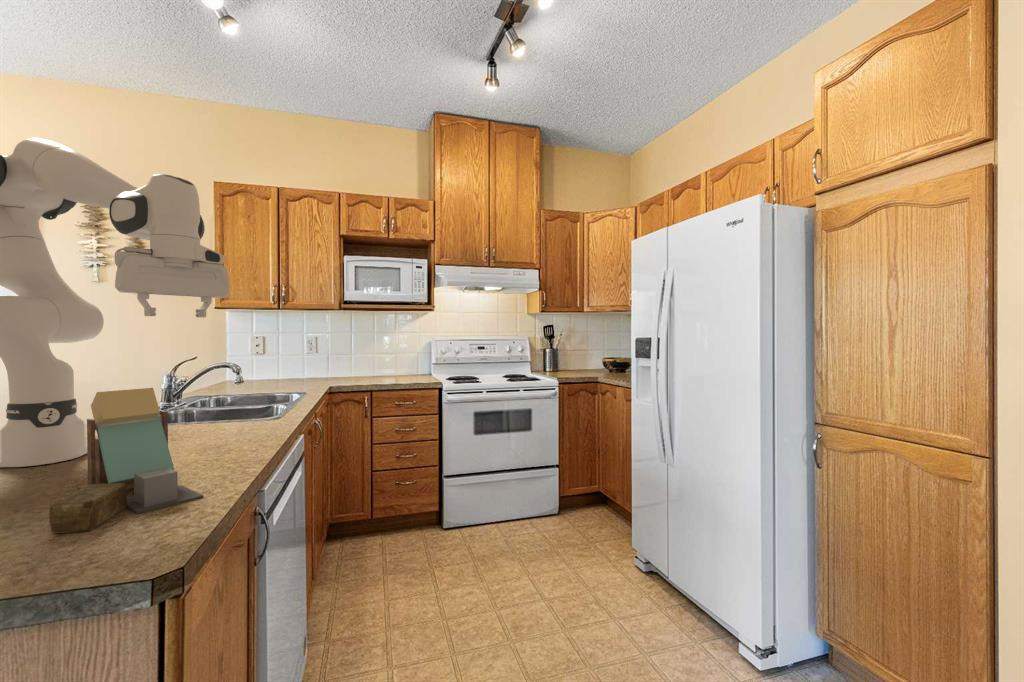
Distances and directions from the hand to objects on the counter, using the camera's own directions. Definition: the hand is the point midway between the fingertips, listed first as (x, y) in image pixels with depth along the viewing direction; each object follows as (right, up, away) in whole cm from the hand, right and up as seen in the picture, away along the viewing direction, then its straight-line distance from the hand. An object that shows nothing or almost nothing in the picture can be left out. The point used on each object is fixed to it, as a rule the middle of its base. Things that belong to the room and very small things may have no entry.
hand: (176, 316), depth 101 cm
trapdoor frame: (-6, -34, -6) cm, 35 cm away
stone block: (+3, -35, -24) cm, 43 cm away
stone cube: (+8, -29, -16) cm, 34 cm away
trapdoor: (-4, -25, -8) cm, 27 cm away
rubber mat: (+8, -34, -15) cm, 38 cm away
